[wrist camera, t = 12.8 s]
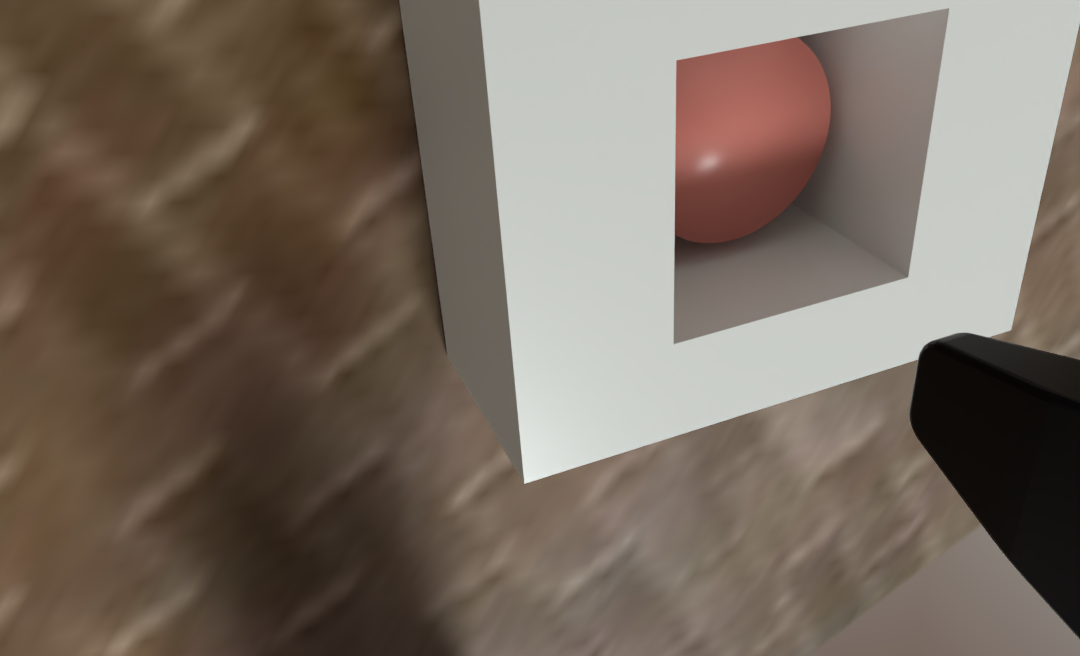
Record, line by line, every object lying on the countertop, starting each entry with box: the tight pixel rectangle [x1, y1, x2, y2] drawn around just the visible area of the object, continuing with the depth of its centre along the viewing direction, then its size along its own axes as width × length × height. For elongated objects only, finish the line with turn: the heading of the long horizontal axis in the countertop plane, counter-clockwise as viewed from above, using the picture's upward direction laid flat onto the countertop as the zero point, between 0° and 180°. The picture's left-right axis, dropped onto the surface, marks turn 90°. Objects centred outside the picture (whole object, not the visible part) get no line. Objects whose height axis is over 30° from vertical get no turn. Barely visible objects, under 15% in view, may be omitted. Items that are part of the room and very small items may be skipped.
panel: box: [399, 0, 1080, 484], centre depth 20 cm, size 12×10×5 cm
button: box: [675, 37, 831, 243], centre depth 21 cm, size 5×5×2 cm
